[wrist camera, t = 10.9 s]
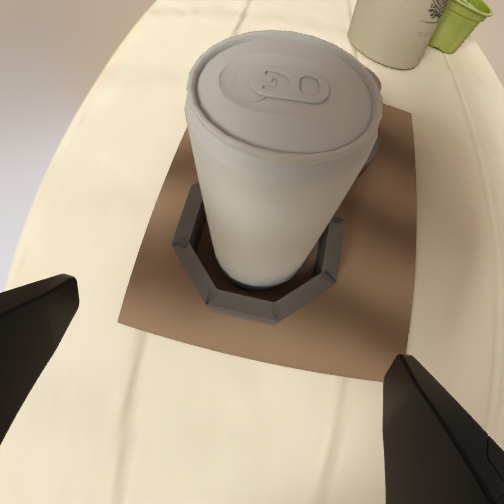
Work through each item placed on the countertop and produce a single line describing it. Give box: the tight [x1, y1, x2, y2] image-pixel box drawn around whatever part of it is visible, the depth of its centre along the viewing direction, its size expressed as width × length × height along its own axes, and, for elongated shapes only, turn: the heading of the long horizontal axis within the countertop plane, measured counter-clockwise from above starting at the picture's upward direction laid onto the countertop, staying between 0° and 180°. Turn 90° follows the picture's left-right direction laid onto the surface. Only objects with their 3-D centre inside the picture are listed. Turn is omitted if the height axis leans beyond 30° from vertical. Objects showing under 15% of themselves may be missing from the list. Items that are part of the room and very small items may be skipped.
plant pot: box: [428, 0, 493, 54], centre depth 25 cm, size 9×9×9 cm
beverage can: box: [185, 30, 383, 291], centre depth 12 cm, size 5×5×12 cm
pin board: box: [118, 66, 416, 382], centre depth 17 cm, size 20×16×8 cm
